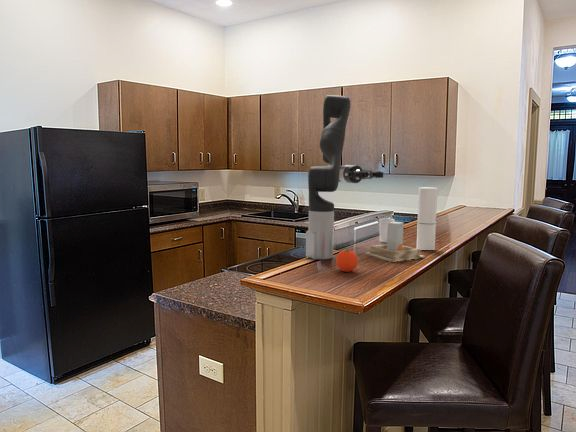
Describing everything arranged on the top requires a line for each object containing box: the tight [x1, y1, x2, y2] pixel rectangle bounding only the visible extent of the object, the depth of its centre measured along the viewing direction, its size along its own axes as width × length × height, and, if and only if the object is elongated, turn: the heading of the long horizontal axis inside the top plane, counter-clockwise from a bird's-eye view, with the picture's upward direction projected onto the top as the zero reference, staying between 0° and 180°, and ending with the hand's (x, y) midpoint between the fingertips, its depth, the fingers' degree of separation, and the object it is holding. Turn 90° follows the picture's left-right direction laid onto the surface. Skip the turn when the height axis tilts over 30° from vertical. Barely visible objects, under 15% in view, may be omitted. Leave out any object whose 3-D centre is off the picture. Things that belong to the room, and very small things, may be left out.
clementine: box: [335, 249, 359, 273], centre depth 144 cm, size 8×7×7 cm
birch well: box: [364, 243, 426, 263], centre depth 169 cm, size 16×15×3 cm
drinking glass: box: [378, 217, 395, 244], centre depth 201 cm, size 7×7×10 cm
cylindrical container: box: [415, 186, 439, 251], centre depth 182 cm, size 7×7×25 cm
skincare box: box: [386, 220, 405, 251], centre depth 168 cm, size 6×4×12 cm
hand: (374, 175), depth 177 cm, fingers open, 8 cm apart
